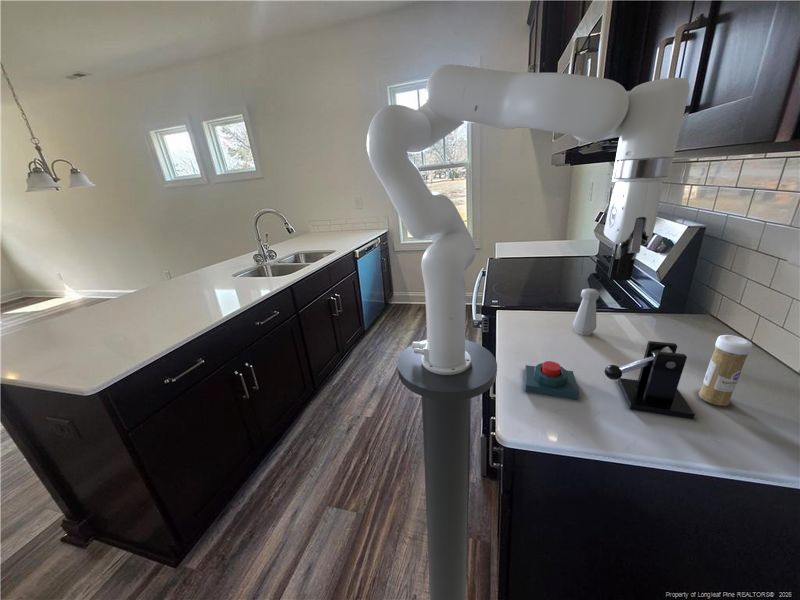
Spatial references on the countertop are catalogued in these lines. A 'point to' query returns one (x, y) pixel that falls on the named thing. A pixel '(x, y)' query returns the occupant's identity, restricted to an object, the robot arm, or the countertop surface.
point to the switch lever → (631, 365)
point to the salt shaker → (586, 312)
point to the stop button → (551, 369)
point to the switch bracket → (658, 384)
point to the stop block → (550, 382)
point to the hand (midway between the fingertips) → (618, 278)
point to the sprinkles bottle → (724, 369)
